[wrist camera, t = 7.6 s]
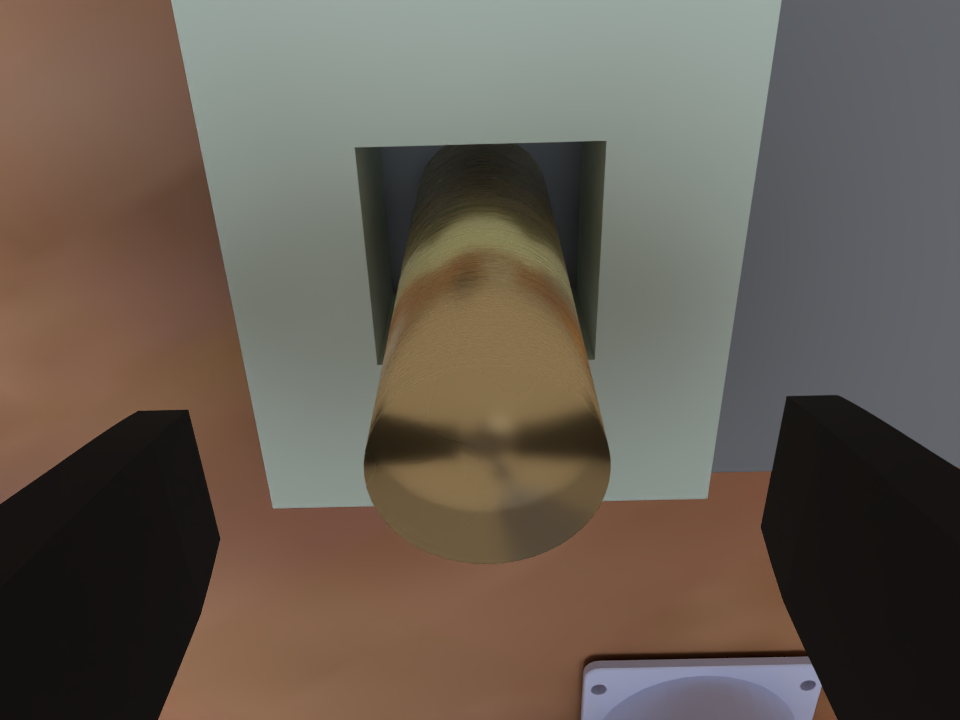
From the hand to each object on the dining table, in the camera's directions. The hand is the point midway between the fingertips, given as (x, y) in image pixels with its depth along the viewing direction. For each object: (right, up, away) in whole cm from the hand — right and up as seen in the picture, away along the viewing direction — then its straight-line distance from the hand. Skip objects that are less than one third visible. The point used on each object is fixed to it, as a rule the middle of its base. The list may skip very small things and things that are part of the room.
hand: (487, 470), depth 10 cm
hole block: (0, +5, +9) cm, 10 cm away
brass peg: (0, +5, +9) cm, 10 cm away
